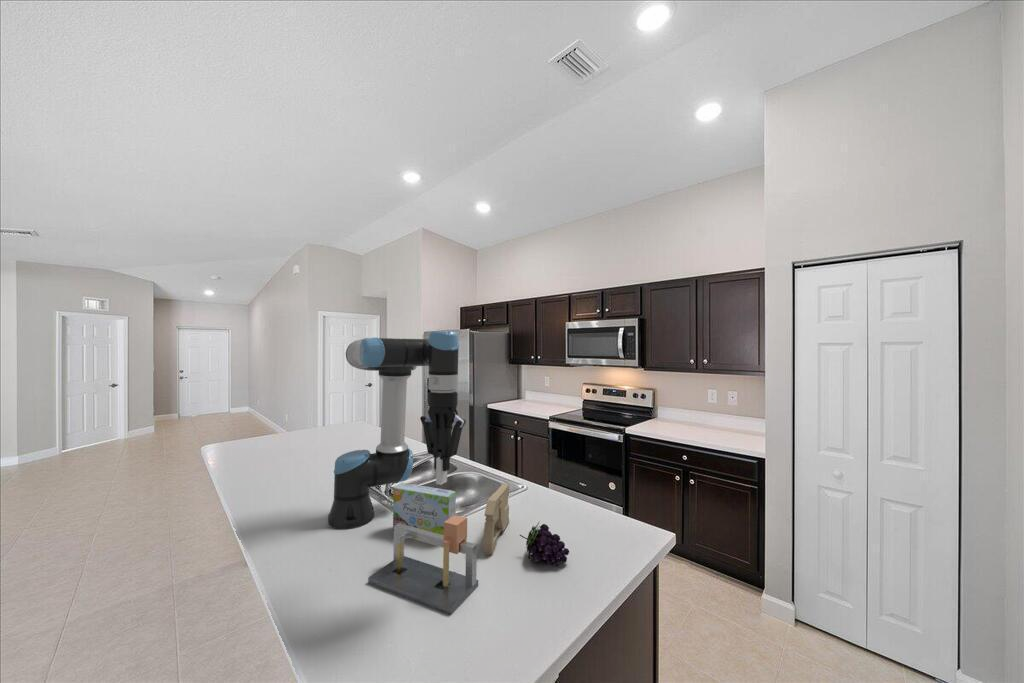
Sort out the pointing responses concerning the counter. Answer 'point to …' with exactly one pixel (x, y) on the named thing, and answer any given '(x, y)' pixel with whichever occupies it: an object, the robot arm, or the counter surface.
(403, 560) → the bolt plate
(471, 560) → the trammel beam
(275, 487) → the counter surface
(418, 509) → the snack box
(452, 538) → the block
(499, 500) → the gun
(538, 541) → the fruit
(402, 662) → the counter surface
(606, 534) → the counter surface
